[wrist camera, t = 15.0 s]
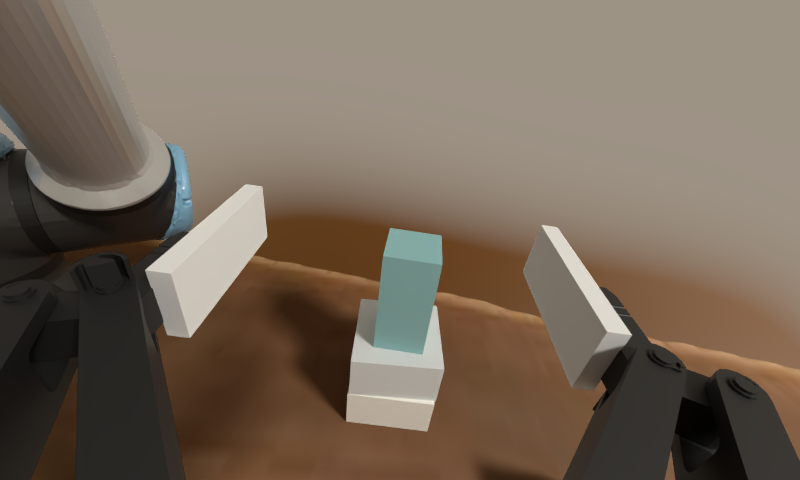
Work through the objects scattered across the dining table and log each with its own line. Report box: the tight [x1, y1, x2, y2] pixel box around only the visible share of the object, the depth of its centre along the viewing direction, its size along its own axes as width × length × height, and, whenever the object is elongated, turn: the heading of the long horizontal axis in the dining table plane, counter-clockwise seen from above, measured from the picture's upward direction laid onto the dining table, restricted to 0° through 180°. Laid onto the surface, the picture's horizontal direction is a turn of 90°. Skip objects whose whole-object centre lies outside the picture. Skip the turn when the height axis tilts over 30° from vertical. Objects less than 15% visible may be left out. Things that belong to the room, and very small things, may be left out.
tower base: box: [346, 384, 434, 431], centre depth 40 cm, size 9×9×5 cm
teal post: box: [373, 228, 442, 355], centre depth 33 cm, size 5×5×11 cm
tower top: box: [349, 299, 444, 401], centre depth 37 cm, size 9×9×5 cm
